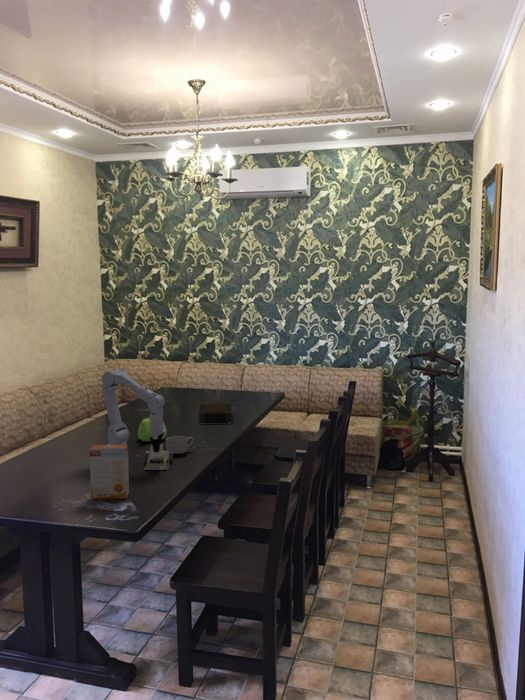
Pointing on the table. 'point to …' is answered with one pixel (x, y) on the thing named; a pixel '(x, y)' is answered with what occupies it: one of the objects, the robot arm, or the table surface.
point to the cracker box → (109, 471)
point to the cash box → (215, 413)
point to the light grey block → (157, 452)
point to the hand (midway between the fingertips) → (157, 450)
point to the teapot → (147, 430)
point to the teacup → (178, 444)
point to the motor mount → (158, 460)
